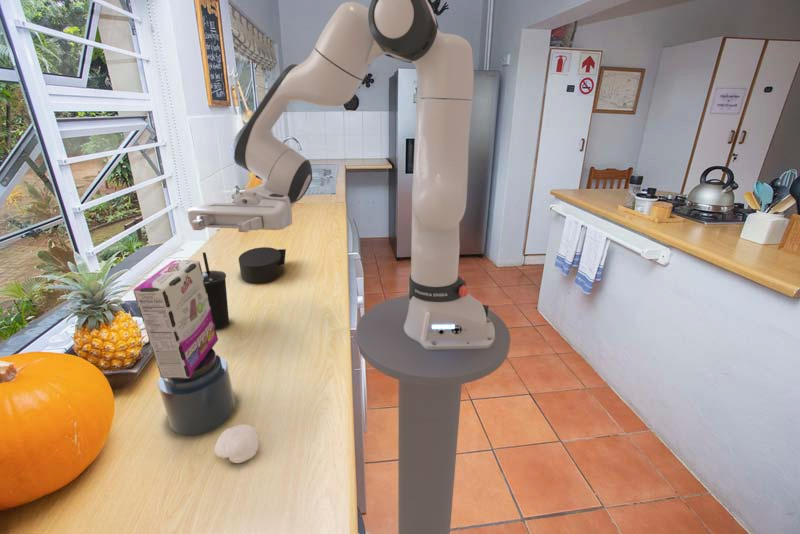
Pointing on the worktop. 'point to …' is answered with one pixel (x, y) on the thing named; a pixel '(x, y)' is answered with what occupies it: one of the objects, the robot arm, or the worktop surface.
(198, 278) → the candy bar box
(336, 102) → the robot arm
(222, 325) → the drinking cup
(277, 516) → the worktop surface
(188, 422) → the jar
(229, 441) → the dumpling
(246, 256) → the black round tin
